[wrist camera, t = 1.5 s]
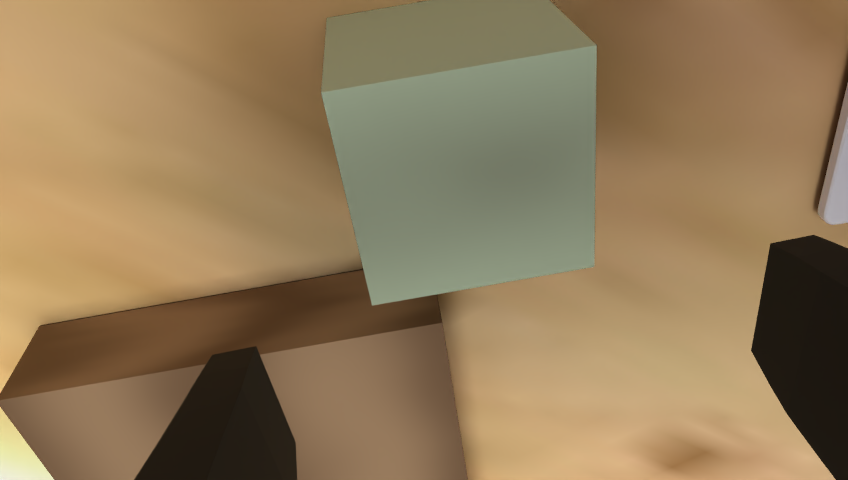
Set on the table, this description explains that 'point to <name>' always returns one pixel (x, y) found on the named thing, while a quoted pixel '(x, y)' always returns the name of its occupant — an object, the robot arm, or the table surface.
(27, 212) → the table surface
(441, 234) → the sage block
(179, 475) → the robot arm
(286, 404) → the walnut base
